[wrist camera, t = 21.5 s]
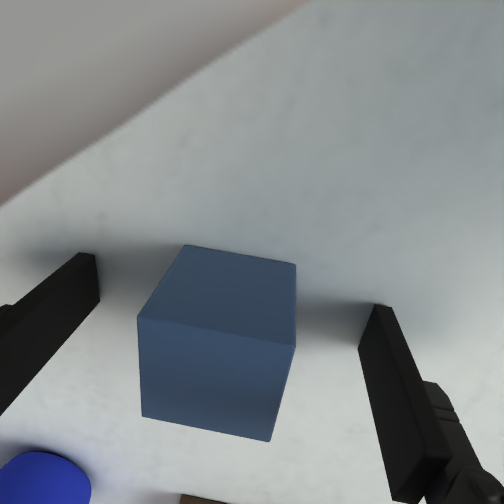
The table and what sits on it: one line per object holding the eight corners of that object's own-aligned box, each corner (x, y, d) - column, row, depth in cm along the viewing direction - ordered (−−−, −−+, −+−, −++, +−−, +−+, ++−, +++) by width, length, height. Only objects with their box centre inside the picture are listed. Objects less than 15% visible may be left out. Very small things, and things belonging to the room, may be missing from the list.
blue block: (296, 263, 14) (296, 346, 10) (277, 347, 17) (270, 443, 12) (184, 243, 14) (135, 316, 10) (181, 328, 17) (141, 417, 12)
